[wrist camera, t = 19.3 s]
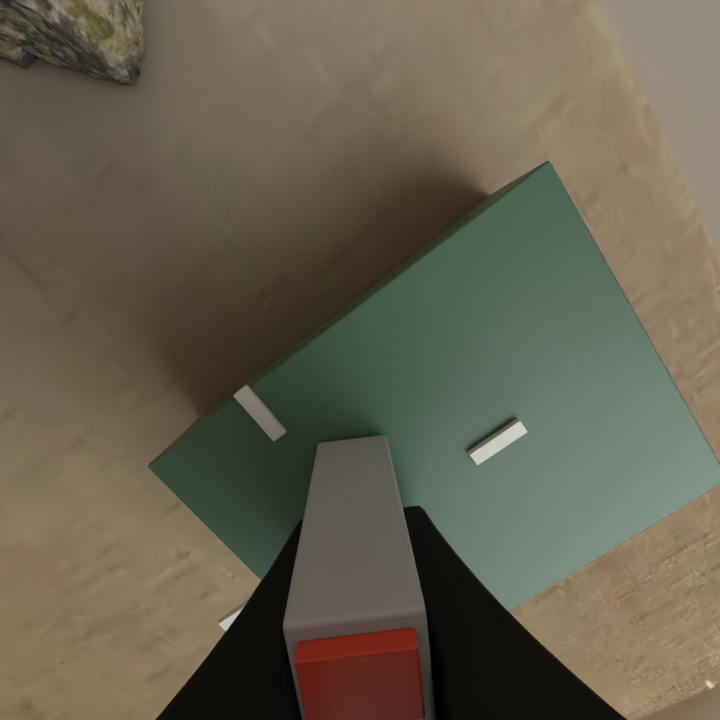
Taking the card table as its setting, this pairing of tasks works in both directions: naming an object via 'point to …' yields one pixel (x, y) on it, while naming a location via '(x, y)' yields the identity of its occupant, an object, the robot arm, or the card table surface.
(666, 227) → the card table surface
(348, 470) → the tap knob
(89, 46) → the rock
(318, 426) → the panel
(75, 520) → the card table surface
